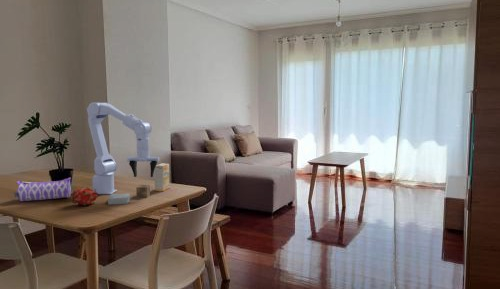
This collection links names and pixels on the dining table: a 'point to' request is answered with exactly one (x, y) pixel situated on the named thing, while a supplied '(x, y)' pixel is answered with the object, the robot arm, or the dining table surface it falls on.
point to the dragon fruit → (84, 196)
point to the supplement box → (162, 177)
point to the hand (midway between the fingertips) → (143, 176)
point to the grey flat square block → (119, 199)
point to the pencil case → (43, 190)
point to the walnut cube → (143, 191)
